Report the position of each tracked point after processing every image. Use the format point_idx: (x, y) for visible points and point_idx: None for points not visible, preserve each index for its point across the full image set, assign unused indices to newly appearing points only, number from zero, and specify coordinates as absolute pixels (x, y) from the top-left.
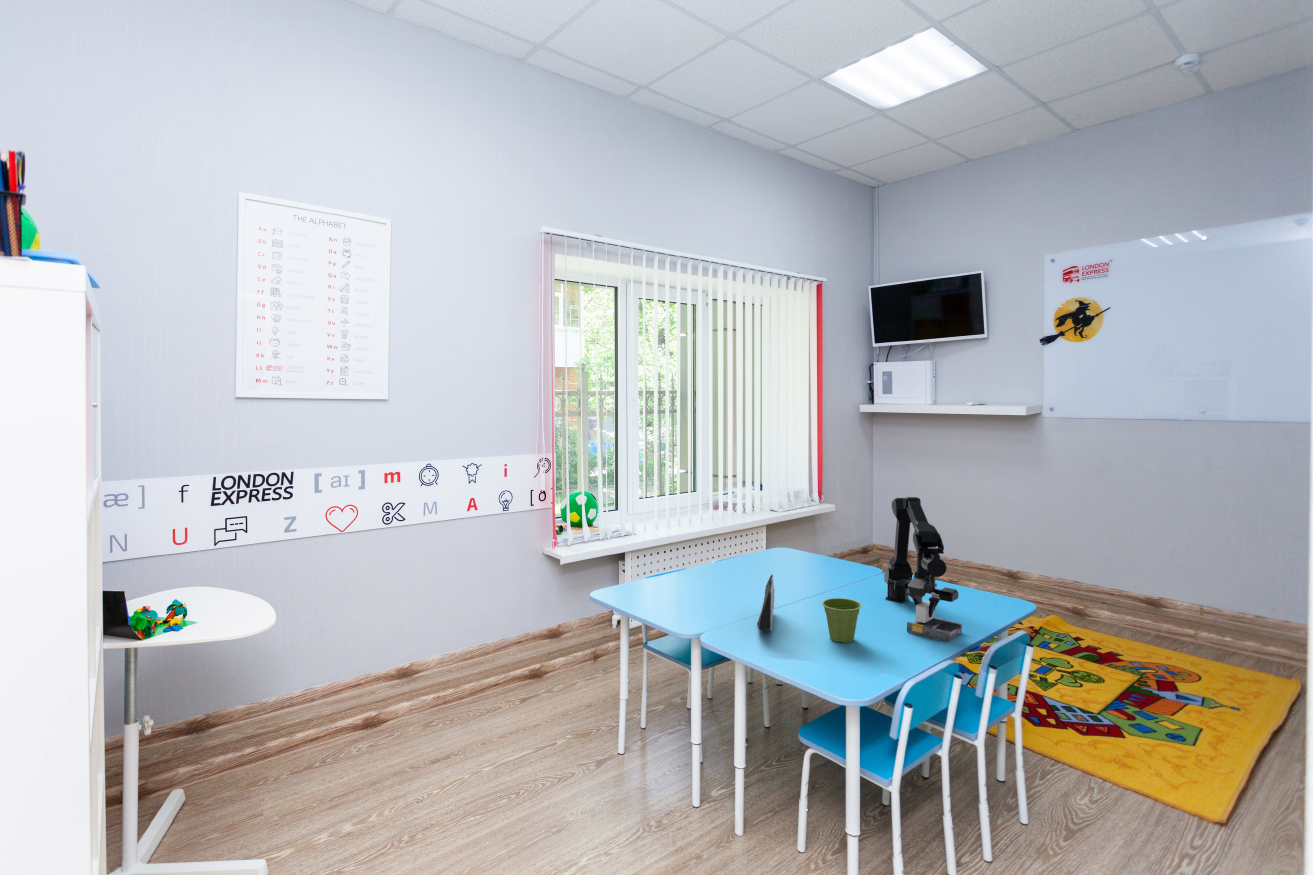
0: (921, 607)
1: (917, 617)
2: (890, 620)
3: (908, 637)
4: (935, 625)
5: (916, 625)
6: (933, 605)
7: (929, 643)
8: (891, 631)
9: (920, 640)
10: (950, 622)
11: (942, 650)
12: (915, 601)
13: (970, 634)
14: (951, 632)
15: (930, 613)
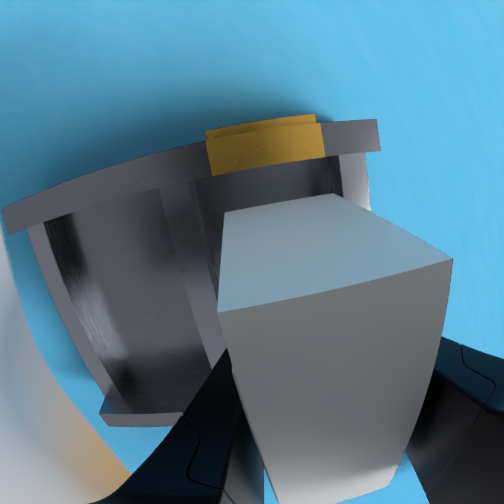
0: (320, 280)
1: (327, 205)
2: (483, 242)
3: (261, 31)
4: (220, 337)
5: (276, 127)
6: (147, 462)
7: (96, 63)
8: (403, 58)
9: (166, 50)
10: (156, 411)
11: (9, 59)
12: (491, 373)
13: (94, 395)
14: (65, 298)
15: (223, 360)
